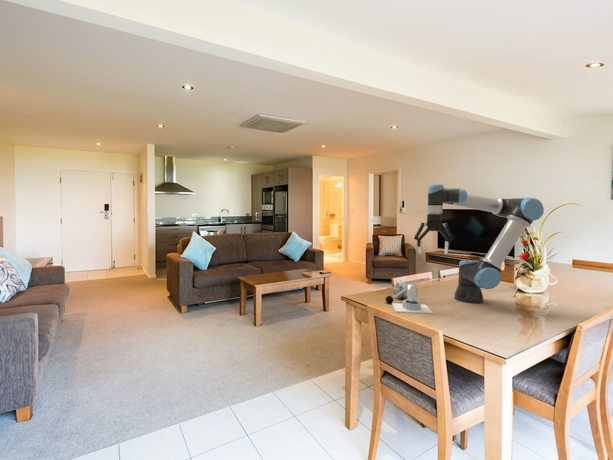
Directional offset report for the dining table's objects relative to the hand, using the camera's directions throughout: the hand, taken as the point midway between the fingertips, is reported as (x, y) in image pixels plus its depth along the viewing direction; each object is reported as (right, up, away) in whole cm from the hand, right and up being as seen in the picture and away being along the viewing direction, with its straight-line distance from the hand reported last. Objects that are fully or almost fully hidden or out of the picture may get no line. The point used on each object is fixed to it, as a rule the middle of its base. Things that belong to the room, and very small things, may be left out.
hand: (433, 253), depth 175 cm
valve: (-16, -28, +12) cm, 35 cm away
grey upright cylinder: (-13, -28, -4) cm, 31 cm away
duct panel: (-13, -29, -4) cm, 32 cm away
